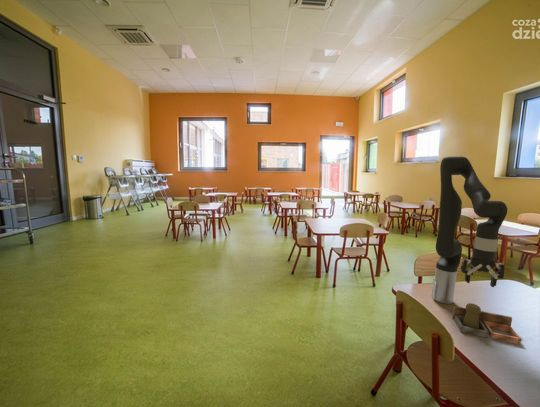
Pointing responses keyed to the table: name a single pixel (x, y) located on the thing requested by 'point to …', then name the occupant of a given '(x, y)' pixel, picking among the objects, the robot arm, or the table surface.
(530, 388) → the table surface
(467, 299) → the table surface
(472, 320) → the cork
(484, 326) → the shaker rack
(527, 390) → the table surface
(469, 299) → the table surface
